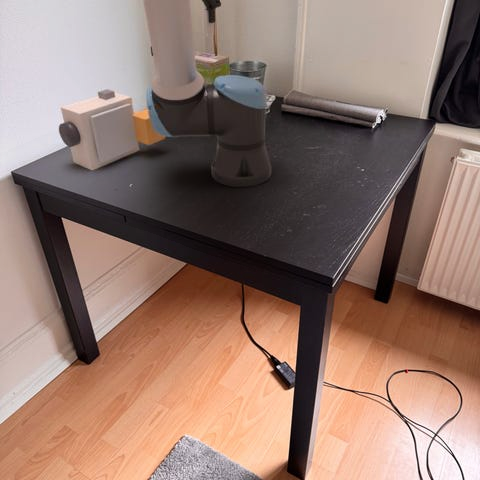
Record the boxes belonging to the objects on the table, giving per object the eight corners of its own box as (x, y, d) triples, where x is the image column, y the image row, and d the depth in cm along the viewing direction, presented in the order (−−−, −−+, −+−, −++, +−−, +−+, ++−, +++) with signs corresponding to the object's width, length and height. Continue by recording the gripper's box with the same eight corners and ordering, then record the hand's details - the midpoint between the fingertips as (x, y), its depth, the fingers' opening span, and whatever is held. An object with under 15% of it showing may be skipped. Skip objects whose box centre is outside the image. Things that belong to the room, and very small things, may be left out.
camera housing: (140, 150, 127) (132, 91, 118) (87, 173, 116) (72, 110, 106) (120, 143, 132) (111, 86, 122) (67, 165, 120) (52, 103, 111)
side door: (166, 145, 125) (161, 102, 119) (114, 167, 114) (105, 121, 107) (151, 139, 129) (145, 97, 122) (99, 161, 117) (89, 116, 110)
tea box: (181, 98, 165) (177, 56, 157) (198, 91, 172) (196, 50, 164) (214, 105, 158) (212, 61, 150) (231, 98, 165) (229, 55, 157)
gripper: (232, -57, 113) (234, 35, 125) (161, -58, 125) (168, 26, 137) (213, -56, 108) (217, 40, 120) (140, -57, 120) (151, 30, 132)
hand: (191, 33), depth 129 cm, fingers open, 13 cm apart
